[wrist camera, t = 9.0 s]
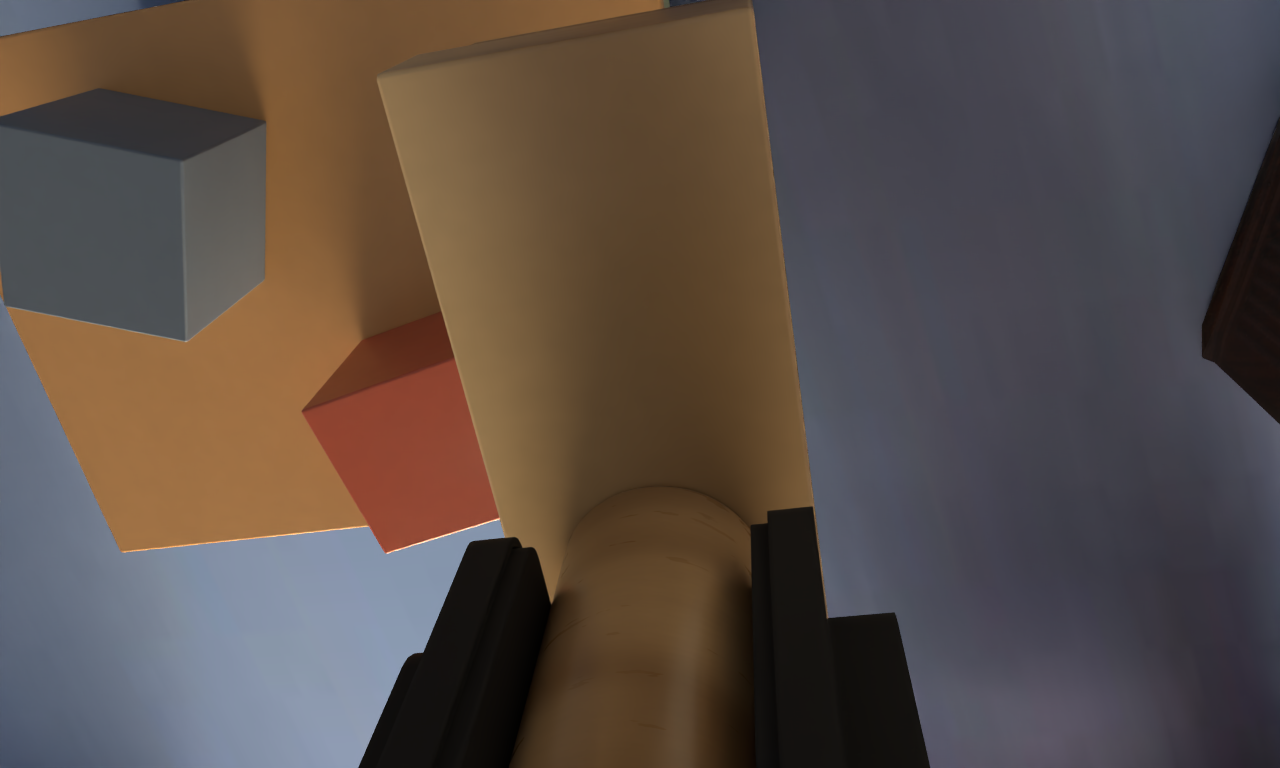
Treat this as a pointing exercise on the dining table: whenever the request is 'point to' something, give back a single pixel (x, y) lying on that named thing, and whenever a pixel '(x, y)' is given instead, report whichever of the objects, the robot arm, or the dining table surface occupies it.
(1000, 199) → the dining table surface
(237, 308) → the cabinet
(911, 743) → the robot arm
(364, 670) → the dining table surface
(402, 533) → the terracotta block
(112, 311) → the slate block
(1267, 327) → the pepper mill
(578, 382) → the brush
